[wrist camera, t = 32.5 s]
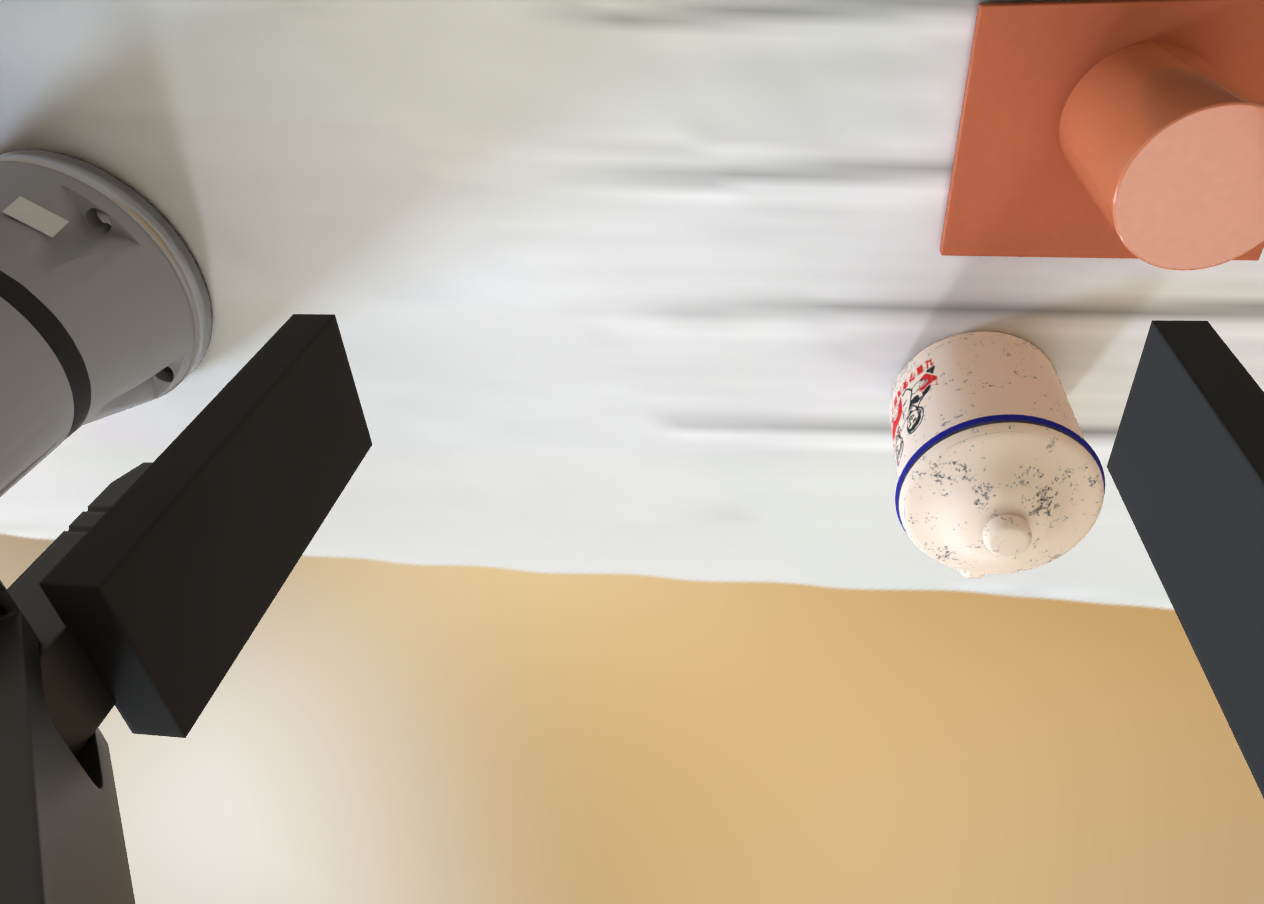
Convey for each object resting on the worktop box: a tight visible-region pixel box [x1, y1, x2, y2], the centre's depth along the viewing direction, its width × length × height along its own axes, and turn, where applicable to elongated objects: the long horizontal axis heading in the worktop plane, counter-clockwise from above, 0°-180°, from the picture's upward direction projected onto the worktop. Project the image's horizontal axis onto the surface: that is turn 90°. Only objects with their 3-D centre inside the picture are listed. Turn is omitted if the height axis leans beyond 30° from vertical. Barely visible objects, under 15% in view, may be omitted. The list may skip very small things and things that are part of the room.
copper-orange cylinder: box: [1059, 42, 1264, 270], centre depth 35 cm, size 6×6×9 cm
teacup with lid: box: [889, 331, 1105, 578], centre depth 44 cm, size 12×9×12 cm
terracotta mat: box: [940, 0, 1264, 260], centre depth 39 cm, size 14×11×1 cm
